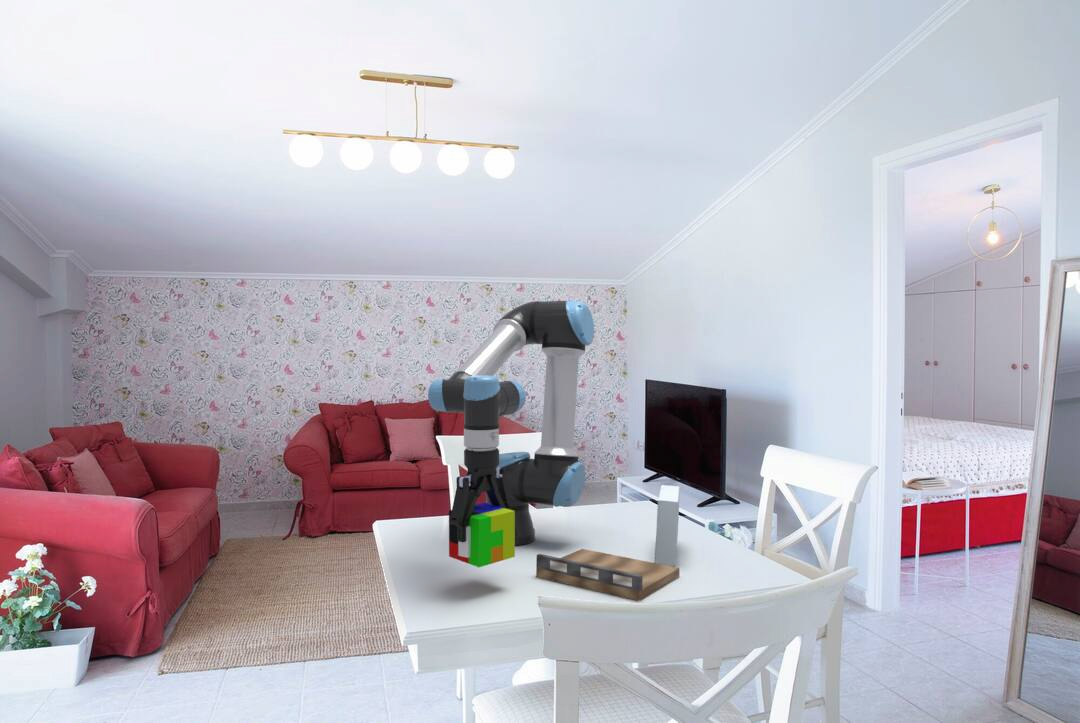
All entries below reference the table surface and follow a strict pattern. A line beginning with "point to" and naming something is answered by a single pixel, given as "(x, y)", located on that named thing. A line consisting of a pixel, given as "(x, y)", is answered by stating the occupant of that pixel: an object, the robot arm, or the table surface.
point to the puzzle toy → (487, 535)
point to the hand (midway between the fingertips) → (481, 549)
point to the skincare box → (667, 525)
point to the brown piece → (606, 573)
